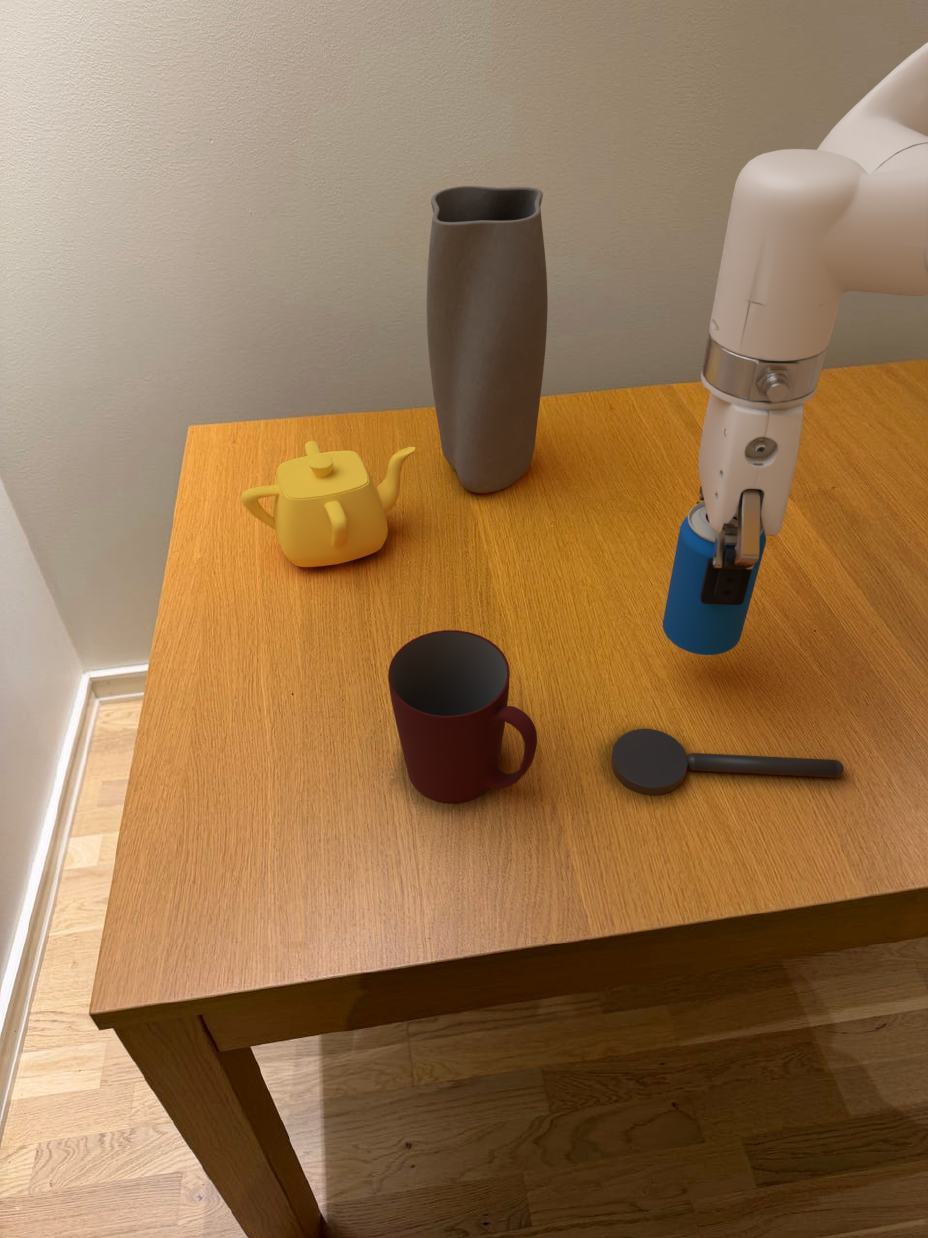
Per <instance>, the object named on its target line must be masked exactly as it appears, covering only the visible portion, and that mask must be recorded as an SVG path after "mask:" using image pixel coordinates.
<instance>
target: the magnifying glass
mask: <svg viewBox="0 0 928 1238" xmlns="http://www.w3.org/2000/svg"><path fill="white" fill-rule="evenodd" d="M611 751H612V752H611V758H610V765H611V769H612V772H613V774H614V776H615V777H616V778H617V780H618V781H619V782H620V783H621V784H622V785H623V786H624V787H626V788H628V789H629V790H631V791H633V792H636V793H638V794H641V795H647V796H648V795H649V796H659V795H661V796H662V795H664V794H668V793H671V792H673V791H674V790H676V789H677V788H678V787H680V786H681V784H682V783H683V782H684V780H685V778H686V775H687V771H688V770H689V771H695V772H716V773H717V772H718V773H735V774H738V773H739V774H755V775H774V776H775V775H776V776H792V777H793V776H794V777H795V776H796V777H816V778H834V779H835V778H840V777H841V776H842V775H843V774H844V772H845V771H844V770H845V766H844V765H843V763H842V762H841V761H840V760H837V759H828V758H810V757H809V758H807V757H789V756H788V757H787V756H785V757H784V756H766V755H749V754H748V755H745V754H725V753H705V752H703V753H702V752H689V753H688V754H687V752H686V749H684V747H683V746H682V744H681V743H680V742H679V741H678V739H676V738H674V737H673V736H671V735H670V734H668V733H666V732H663V731H661V730H658V729H653V728H637V729H633V730H630V731H628V732H625V733H624V734H622V735H621V736H620V737H618V739H617V740H616V741H615V743H614V745H613V747H612V750H611Z"/></svg>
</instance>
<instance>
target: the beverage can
mask: <svg viewBox="0 0 928 1238" xmlns="http://www.w3.org/2000/svg"><path fill="white" fill-rule="evenodd" d="M699 502H700V503H698V504H697V503H695V505H693V506H692V507H691V509H690V510H689V512H688V514H687V516H686V517H684V519H683V520H682V522H681V524H680V525H679V531H678V537H677V543H676V548H675V554H674V559H673V564H672V569H671V576H670V580H669V586H668V591H667V597H666V603H665V608H664V612H663V613H664V614H663V618H662V630H663V632H664V635H665V636H666V638H667V639H668V641H670V642H671V643H672V644H673V645H674V646H676V648H677V647H678V648H679V649H681V650H683V651H685V652H686V653H689V654H693V655H697V656H718V655H722V654H726V653H728V652H730V651H731V650H733V649H734V648H736V646H737V645H738V644H739V642H740V640H741V637H742V634H743V630H744V626H745V623H746V619H747V615H748V613H749V612H748V611H749V608H750V603H751V600H752V597H753V592H754V589H755V585H756V582H757V577H758V573H759V570H760V567H761V563H762V559H763V555H764V551H765V548H766V544H767V535H765V533H764V529H763V526H762V522H761V519H760V546H759V559H758V561H757V562H756V563H754V567H753V569H752V572H751V575H750V579H749V583H748V587H747V591H746V595H745V598H744V602H743V603H742V604H741V605H720V604H703V603H702V602H701V598H700V594H701V590H702V585H703V580H704V576H705V571H706V566H707V562H708V559H713V553H714V544H715V535H716V532H715V531H714V530H713V529H712V528H711V526H710V523H709V522H708V520H709V519H708V515H707V511H706V506H705V501H699ZM728 524H738V517H733V518H732V520H731V521H730V522H729V523H728ZM737 539H738V535H726V542H725V551H726V550H727V549H735V546H736V545H737Z"/></svg>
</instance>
